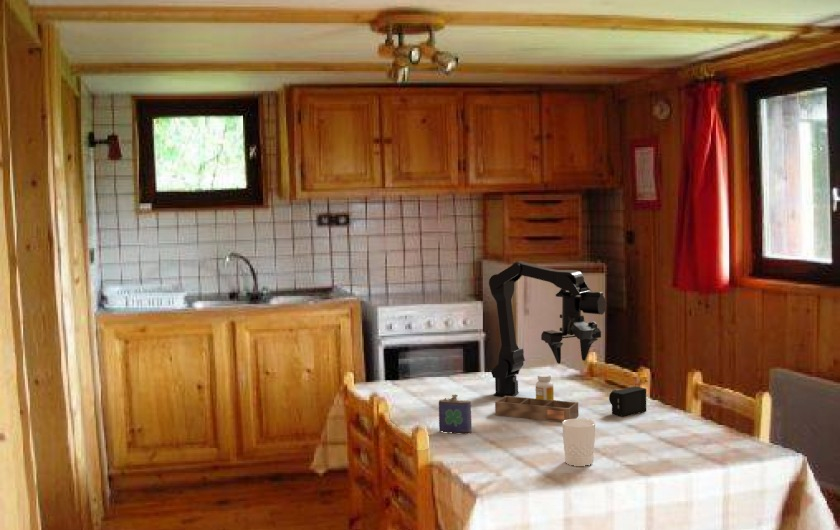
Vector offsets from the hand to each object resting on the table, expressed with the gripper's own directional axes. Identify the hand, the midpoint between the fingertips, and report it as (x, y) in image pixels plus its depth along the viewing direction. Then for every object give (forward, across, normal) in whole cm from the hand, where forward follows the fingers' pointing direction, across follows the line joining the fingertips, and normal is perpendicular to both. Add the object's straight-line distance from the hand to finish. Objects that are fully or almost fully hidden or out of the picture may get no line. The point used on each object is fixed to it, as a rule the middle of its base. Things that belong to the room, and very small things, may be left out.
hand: (571, 362), depth 275 cm
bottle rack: (+13, -17, -6) cm, 22 cm away
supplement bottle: (+13, -9, +1) cm, 16 cm away
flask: (+14, -46, -10) cm, 48 cm away
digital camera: (+13, +8, -18) cm, 23 cm away
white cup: (+13, -32, -49) cm, 60 cm away
